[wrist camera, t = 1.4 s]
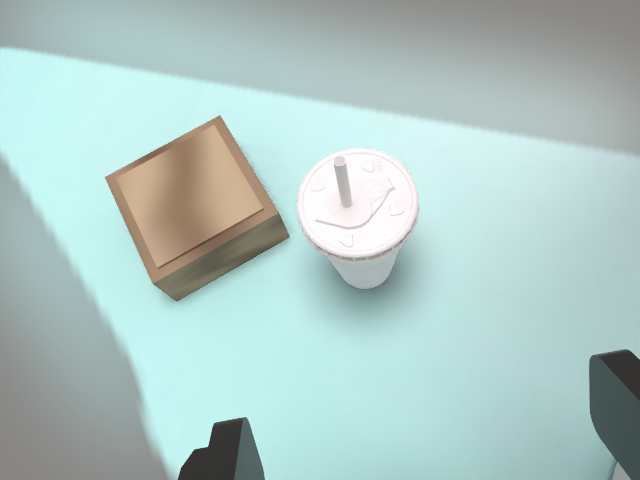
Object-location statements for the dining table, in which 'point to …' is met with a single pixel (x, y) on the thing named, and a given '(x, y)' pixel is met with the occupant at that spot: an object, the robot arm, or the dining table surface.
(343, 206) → the smoothie
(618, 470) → the donut
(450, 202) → the dining table surface
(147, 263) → the base
